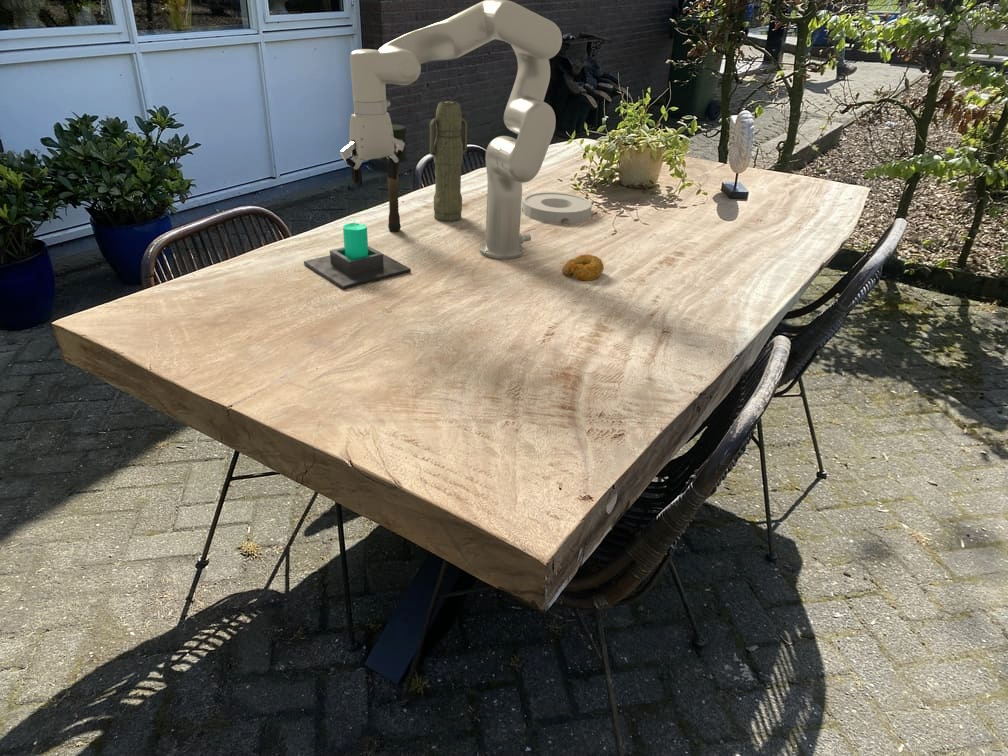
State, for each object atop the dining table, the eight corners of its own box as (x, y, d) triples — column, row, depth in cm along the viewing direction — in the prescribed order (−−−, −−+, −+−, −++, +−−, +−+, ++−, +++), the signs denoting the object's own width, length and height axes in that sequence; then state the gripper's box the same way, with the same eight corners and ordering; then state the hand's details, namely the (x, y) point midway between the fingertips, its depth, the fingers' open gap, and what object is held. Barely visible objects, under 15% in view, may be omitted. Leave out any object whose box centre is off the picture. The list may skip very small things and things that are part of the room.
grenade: (374, 232, 210) (370, 127, 195) (389, 224, 217) (386, 122, 202) (399, 237, 207) (397, 131, 192) (413, 228, 214) (412, 126, 199)
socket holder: (369, 249, 197) (368, 234, 195) (410, 272, 184) (410, 256, 182) (304, 264, 185) (302, 248, 183) (343, 289, 173) (342, 272, 170)
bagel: (561, 266, 194) (562, 250, 191) (600, 269, 194) (603, 252, 191) (562, 280, 185) (564, 263, 183) (604, 283, 185) (606, 266, 183)
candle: (363, 270, 181) (361, 225, 175) (341, 267, 182) (338, 222, 176) (372, 262, 186) (370, 218, 180) (351, 259, 187) (348, 215, 181)
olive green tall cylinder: (471, 219, 225) (474, 103, 207) (438, 224, 219) (439, 105, 201) (456, 211, 231) (458, 98, 213) (425, 216, 225) (424, 100, 207)
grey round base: (545, 199, 250) (546, 187, 248) (603, 213, 238) (604, 201, 236) (507, 213, 233) (508, 201, 231) (567, 229, 222) (568, 217, 220)
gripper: (393, 101, 171) (396, 172, 180) (328, 109, 161) (336, 183, 170) (410, 106, 166) (413, 179, 175) (345, 114, 157) (351, 191, 165)
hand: (375, 181), depth 173 cm, fingers open, 9 cm apart
